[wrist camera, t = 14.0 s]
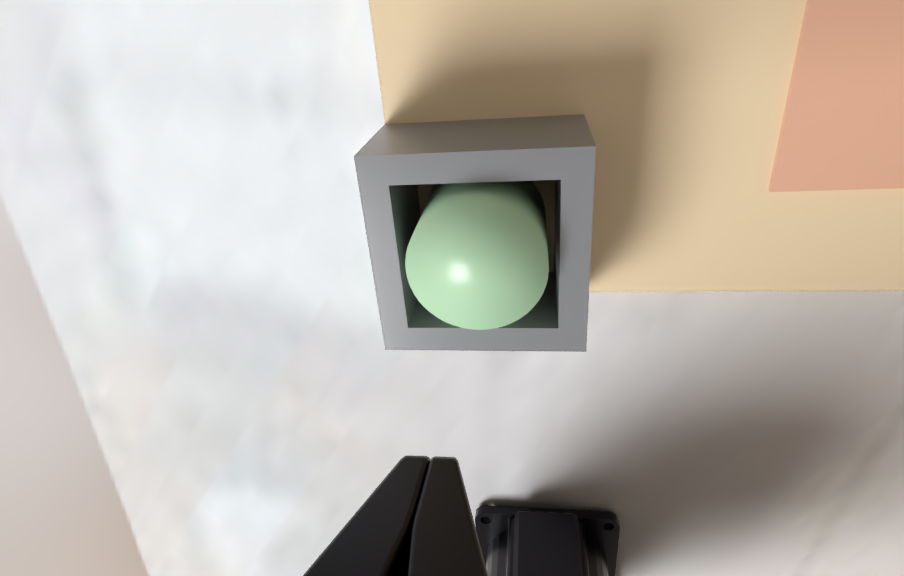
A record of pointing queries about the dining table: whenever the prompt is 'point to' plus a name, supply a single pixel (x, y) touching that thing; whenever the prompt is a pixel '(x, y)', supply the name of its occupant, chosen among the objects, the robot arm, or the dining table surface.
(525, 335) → the button housing
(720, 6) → the picture board
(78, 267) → the dining table surface
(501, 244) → the button
